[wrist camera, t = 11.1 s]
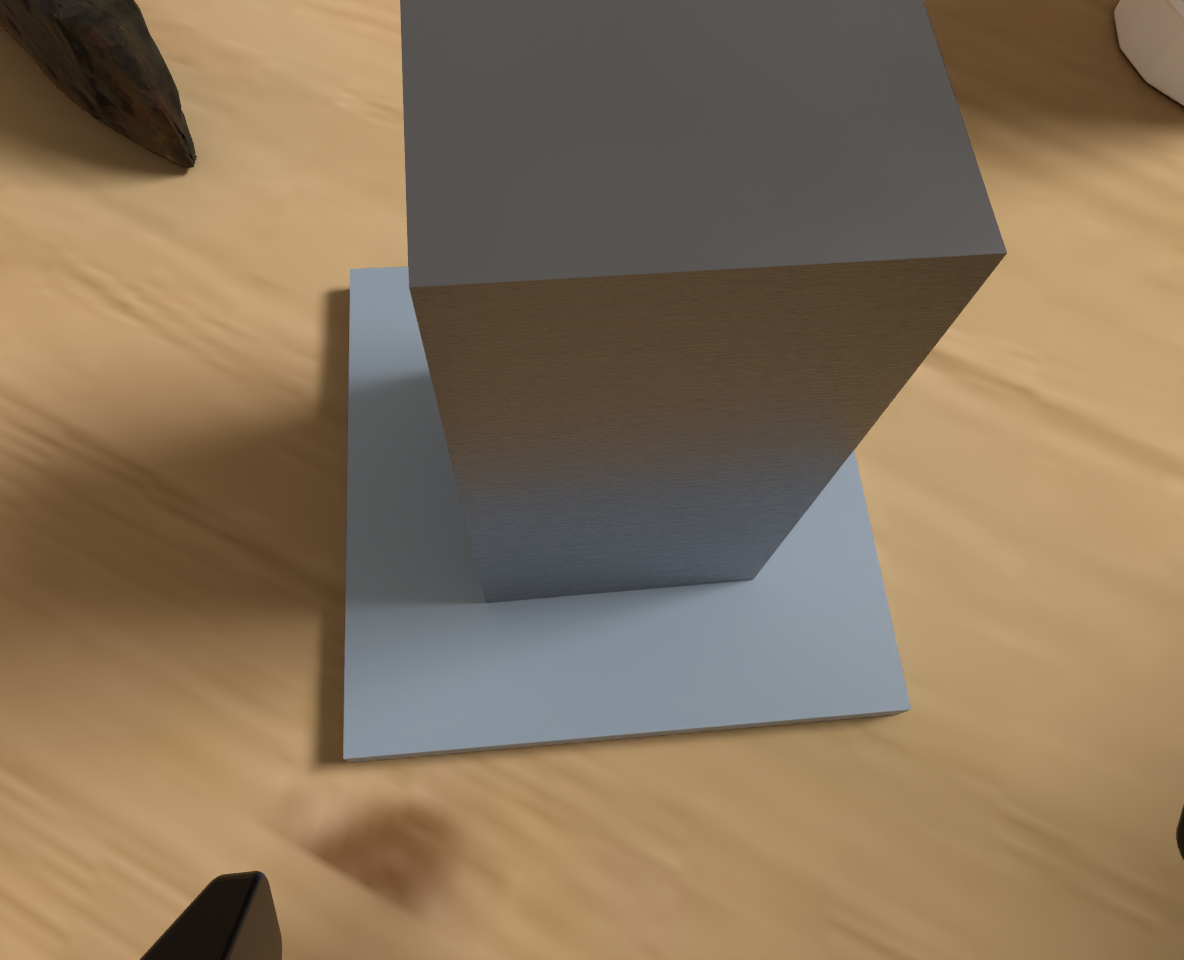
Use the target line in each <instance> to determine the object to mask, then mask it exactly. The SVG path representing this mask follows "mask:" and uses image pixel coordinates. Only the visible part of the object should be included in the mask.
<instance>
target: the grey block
mask: <svg viewBox="0 0 1184 960" xmlns="http://www.w3.org/2000/svg"><path fill="white" fill-rule="evenodd" d="M400 6H401V39H402V72H403V105H404V138H405V171H406V204H407V237H408V270H409V289H410V294H411V298H412V302H413V306H414V310H415V314H416V318H417V322H418V327H419V331H420V335H421V339H422V343H423V347H424V351H425V355H426V359H427V364H428V368H429V372H430V376H431V380H432V384H433V388H434V392H435V397H436V401H437V405H438V409H439V413H440V417H441V421H442V425H443V430H444V434H445V438H446V442H447V446H448V450H449V454H450V458H451V462H452V467H453V471H454V475H455V479H456V483H457V487H458V491H459V495H460V500H461V504H462V508H463V512H464V516H465V520H466V524H467V528H468V533H469V537H470V541H471V545H472V549H473V553H474V557H475V561H476V565H477V570H478V574H479V578H480V582H481V586H482V590H483V594H484V598H485V603H495V602H506V601H518V600H529V599H541V598H552V597H564V596H575V595H587V594H598V593H610V592H621V591H633V590H644V589H656V588H667V587H679V586H690V585H702V584H713V583H725V582H736V581H748V580H753V579H754V578H755V577H756V576H757V574H758V573H759V572H760V570H761V569H762V568H763V567H764V565H765V564H766V563H767V561H768V560H769V559H770V558H771V556H772V555H773V554H774V552H775V551H776V550H777V549H778V547H779V546H780V545H781V543H782V542H783V541H784V539H785V538H786V537H787V536H788V534H789V533H790V532H791V530H792V529H793V528H794V527H795V525H796V524H797V523H798V521H799V520H800V519H801V518H802V516H803V515H804V514H805V512H806V511H807V510H808V509H809V507H810V506H811V505H812V503H813V502H814V501H815V500H816V498H817V497H818V496H819V494H820V493H821V492H822V491H823V489H824V488H825V487H826V485H827V484H828V483H829V482H830V480H831V479H832V478H833V476H834V475H835V474H836V473H837V471H838V470H839V469H840V467H841V466H842V465H843V464H844V462H845V461H846V460H847V458H848V457H849V456H850V455H851V453H852V452H853V451H854V449H855V448H856V447H857V446H858V444H859V443H860V442H861V440H862V439H863V438H864V436H865V435H866V434H867V433H868V431H869V430H870V429H871V427H872V426H873V425H874V424H875V422H876V421H877V420H878V418H879V417H880V416H881V415H882V413H883V412H884V411H885V409H886V408H887V407H888V406H889V404H890V403H891V402H892V400H893V399H894V398H895V397H896V395H897V394H898V393H899V391H900V390H901V389H902V388H903V386H904V385H905V384H906V382H907V381H908V380H909V379H910V377H911V376H912V375H913V373H914V372H915V371H916V370H917V368H918V367H919V366H920V364H921V363H922V362H923V361H924V359H925V358H926V357H927V355H928V354H929V353H930V352H931V350H932V349H933V348H934V346H935V345H936V344H937V343H938V341H939V340H940V339H941V337H942V336H943V335H944V334H945V332H946V331H947V330H948V328H949V327H950V326H951V324H952V323H953V322H954V321H955V319H956V318H957V317H958V315H959V314H960V313H961V312H962V310H963V309H964V308H965V306H966V305H967V304H968V303H969V301H970V300H971V299H972V297H973V296H974V295H975V294H976V292H977V291H978V290H979V288H980V287H981V286H982V285H983V283H984V282H985V281H986V279H987V278H988V277H989V276H990V274H991V273H992V272H993V270H994V269H995V268H996V267H997V265H998V264H999V263H1000V261H1001V260H1002V259H1003V258H1004V256H1005V255H1006V254H1007V252H1006V249H1005V246H1004V243H1003V240H1002V237H1001V234H1000V231H999V228H998V225H997V222H996V219H995V216H994V213H993V210H992V207H991V204H990V201H989V198H988V195H987V192H986V189H985V186H984V183H983V180H982V176H981V173H980V170H979V167H978V164H977V161H976V158H975V155H974V152H973V149H972V146H971V143H970V140H969V137H968V134H967V131H966V128H965V125H964V122H963V119H962V116H961V113H960V110H959V107H958V104H957V101H956V98H955V95H954V92H953V89H952V86H951V83H950V80H949V77H948V74H947V71H946V68H945V65H944V62H943V59H942V56H941V53H940V50H939V47H938V44H937V41H936V38H935V35H934V32H933V29H932V26H931V23H930V20H929V17H928V14H927V11H926V8H925V5H924V2H923V0H400Z"/></svg>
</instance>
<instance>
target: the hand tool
mask: <svg viewBox="0 0 1184 960" xmlns="http://www.w3.org/2000/svg"><path fill="white" fill-rule="evenodd" d="M0 24H1V26H2V27H3V28H4V29H5V30H6V31H7V32H9V33H10V34H11V35H12V36H13V37H14V38H15V39H16V40H17V41H18V42H19V43H20V45H21V46H22V47H23V48H24V49H25V50H26V51H27V52H28V53H29V54H30V55H31V57H32V58H33V59H34V60H35V62H36V63H37V64H38V65H39V67H40V68H41V69H42V70H43V72H44V73H45V74H46V75H47V76H48V78H49V79H50V80H51V81H52V82H53V83H54V84H55V85H56V86H57V87H58V88H59V89H60V90H61V91H62V92H63V93H64V94H65V95H67V96H68V97H69V98H70V99H71V100H72V101H73V102H75V103H76V104H77V105H79V106H80V107H81V108H83V109H84V110H85V111H86V112H88V113H89V114H90V115H92V116H93V117H95V118H96V119H98V120H100V121H101V122H103V123H105V124H106V125H108V126H109V127H111V128H112V129H114V130H115V131H117V132H119V133H120V134H122V135H124V136H125V137H127V138H129V139H130V140H132V141H133V142H135V143H137V144H139V145H141V146H143V147H144V148H146V149H148V150H150V151H152V152H154V153H156V154H158V155H160V156H163V157H165V158H167V159H169V160H171V161H172V162H174V163H176V164H178V165H181V166H183V167H187V168H190V167H194V164H195V160H196V157H197V156H195V149H194V143H193V141H192V138H191V135H190V132H189V129H188V126H187V123H186V120H185V116H184V114H183V112H182V110H181V104H180V99H179V94H178V90H177V88H176V85H175V83H174V81H173V78H172V76H171V74H170V72H169V70H168V68H167V66H166V64H165V62H164V59H163V57H162V55H161V53H160V51H159V49H158V48H157V46H156V44H155V42H154V41H153V39H152V37H151V35H150V33H149V31H148V28H147V26H146V23H145V21H144V18H143V15H142V13H141V10H140V8H139V7H138V5H137V4H136V2H135V1H134V0H0Z"/></svg>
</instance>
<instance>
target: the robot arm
mask: <svg viewBox="0 0 1184 960" xmlns="http://www.w3.org/2000/svg"><path fill="white" fill-rule="evenodd" d="M1176 840H1177V844H1178V848H1179V851H1180V854H1181V856H1182V858H1183V860H1184V805H1183V808H1182V812H1181V816H1180V819H1179V823H1178V826H1177V831H1176ZM140 960H282V939H281V933H280V928H279V924H278V920H277V916H276V911H275V907H274V903H273V899H272V894H271V890H270V886H269V882H268V880H267V878H266V876H265V875H264V873H262V872H259V871H251V872H242V873H233V874H224V875H220V876H218V877H217V878H215V879H214V880H212V881H211V882H210V883H209V884H208V885H207V886H206V887H205V889H204V890H203V891H202V892H201V893H200V894H199V895H198V896H197V897H196V898H195V900H194V901H193V902H192V903H191V904H190V905H189V906H188V907H187V908H186V909H185V910H184V912H183V913H182V914H181V915H180V916H179V917H178V918H177V919H176V920H175V921H174V923H173V924H172V925H171V926H170V927H169V928H168V929H167V930H166V931H165V932H164V934H163V935H162V936H161V937H160V938H159V939H158V940H157V941H156V942H155V943H154V945H153V946H152V947H151V948H150V949H149V950H148V951H147V952H146V953H145V954H144V955H143V957H142V958H141V959H140Z"/></svg>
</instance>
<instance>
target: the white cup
mask: <svg viewBox="0 0 1184 960" xmlns="http://www.w3.org/2000/svg"><path fill="white" fill-rule="evenodd" d="M1114 18H1115V24H1116V29H1117V35H1118V41H1119V46H1120V48H1121V50H1122V51H1123V53H1124V54H1125V55H1126V57H1127V58H1128V59H1129V61H1130V62H1131V63H1132V65H1133V66H1134V67H1135V68H1136V70H1137V71H1138V72H1139V74H1140V75H1141V76H1142V77H1143V79H1144V80H1145V81H1146V82H1147V83H1149V84H1150V85H1152V86H1153V87H1155V88H1156V89H1158V90H1159V91H1161V92H1162V93H1164V94H1165V95H1167V96H1169V97H1170V98H1172V99H1173V100H1175V101H1176V102H1178V103H1180V104H1181V105H1183V106H1184V0H1120V1H1119V3H1118V5H1117V7H1116V8H1115V11H1114Z"/></svg>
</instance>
